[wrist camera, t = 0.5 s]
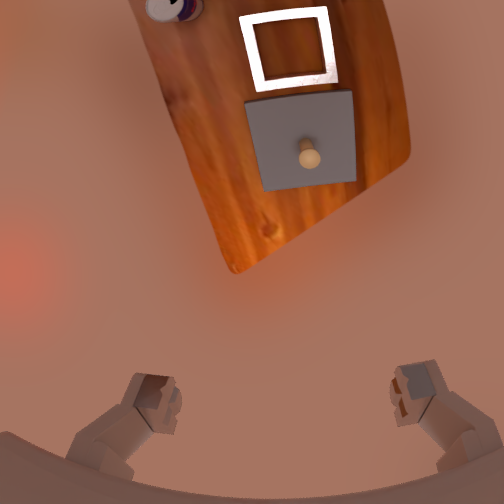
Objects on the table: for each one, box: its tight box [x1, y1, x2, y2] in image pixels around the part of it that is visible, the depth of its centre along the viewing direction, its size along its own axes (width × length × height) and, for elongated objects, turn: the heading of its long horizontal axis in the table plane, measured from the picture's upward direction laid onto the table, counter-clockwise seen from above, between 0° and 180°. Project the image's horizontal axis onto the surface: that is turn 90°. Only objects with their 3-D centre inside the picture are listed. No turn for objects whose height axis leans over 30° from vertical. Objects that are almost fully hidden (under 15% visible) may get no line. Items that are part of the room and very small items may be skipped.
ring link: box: [239, 7, 338, 92], centre depth 38 cm, size 13×13×3 cm
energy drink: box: [146, 0, 204, 23], centre depth 30 cm, size 5×5×12 cm
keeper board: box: [244, 89, 356, 192], centre depth 48 cm, size 18×18×8 cm
